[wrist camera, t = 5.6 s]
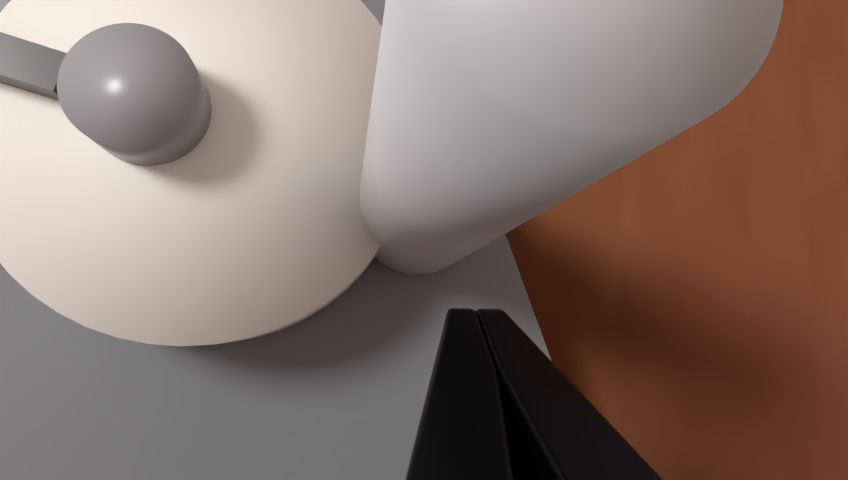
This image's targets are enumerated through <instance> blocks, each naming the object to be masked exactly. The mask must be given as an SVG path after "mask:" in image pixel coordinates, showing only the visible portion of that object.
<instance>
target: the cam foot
mask: <svg viewBox="0 0 848 480" xmlns="http://www.w3.org/2000/svg"><path fill="white" fill-rule="evenodd" d="M782 7H783V0H386V1H385V8H384V16H383V23H382V27H381V25H380V24H379V22H378V20H377V19H376V18H375V16H374V15H373V14H372V13H371V12H370V10H369V9H368V8H367V7H366V6H365V5H364V3H363V2H362V1H361V0H11V1H10V2H9V3H8V4H7V5H6V6H5V7H4V9H3V10H2V11H1V13H0V263H1V265H2V266H3V267H4V268H5V270H6V271H7V272H8V273H9V274H10V275H11V276H12V277H13V278H14V279H15V280H16V281H17V282H18V283H19V284H21V285H22V286H23V287H24V288H25V289H26V290H27V291H28V292H29V293H30V294H31V295H33V296H34V297H36V298H37V299H38V300H40V301H41V302H43V303H44V304H46V305H47V306H49V307H50V308H52V309H53V310H55V311H56V312H57V313H59V314H61V315H63V316H65V317H67V318H69V319H71V320H73V321H75V322H77V323H79V324H81V325H83V326H85V327H87V328H90V329H93V330H96V331H99V332H102V333H105V334H108V335H111V336H113V337H116V338H121V339H126V340H131V341H136V342H141V343H146V344H154V345H168V346H198V345H214V344H222V343H230V342H236V341H241V340H247V339H252V338H258V337H261V336H264V335H267V334H271V333H274V332H277V331H280V330H283V329H285V328H288V327H290V326H292V325H294V324H296V323H298V322H301V321H303V320H305V319H307V318H309V317H310V316H312V315H313V314H315V313H317V312H318V311H320V310H321V309H323V308H325V307H326V306H328V305H329V304H330V303H332V302H333V301H334V300H335V299H336V298H338V297H339V296H340V295H341V294H343V293H344V292H345V291H346V290H347V289H348V288H349V287H350V286H351V285H352V284H353V283H354V282H355V281H356V280H357V279H358V278H359V277H360V276H361V275H362V274H363V272H364V271H365V270H366V269H367V267H368V266H369V264H370V263H371V262H372V260H373V259H374V257H375V258H376V259H377V260H378V261H380V262H381V263H383V264H384V265H385V266H387V267H389V268H391V269H393V270H395V271H398V272H401V273H406V274H413V275H424V274H430V273H434V272H437V271H440V270H442V269H444V268H446V267H448V266H450V265H451V264H453V263H455V262H457V261H458V260H460V259H462V258H464V257H465V256H467V255H469V254H471V253H472V252H474V251H476V250H477V249H479V248H481V247H483V246H484V245H486V244H488V243H490V242H491V241H493V240H495V239H497V238H498V237H500V236H502V235H504V234H505V233H507V232H509V231H511V230H512V229H514V228H516V227H517V226H519V225H521V224H523V223H524V222H526V221H528V220H530V219H531V218H533V217H535V216H537V215H538V214H540V213H542V212H544V211H545V210H547V209H549V208H551V207H552V206H554V205H556V204H558V203H559V202H561V201H563V200H564V199H566V198H568V197H570V196H571V195H573V194H575V193H577V192H578V191H580V190H582V189H584V188H585V187H587V186H589V185H591V184H592V183H594V182H596V181H598V180H599V179H601V178H603V177H604V176H606V175H608V174H610V173H611V172H613V171H615V170H617V169H618V168H620V167H622V166H624V165H625V164H627V163H629V162H631V161H632V160H634V159H636V158H638V157H639V156H641V155H643V154H645V153H646V152H648V151H650V150H651V149H653V148H655V147H657V146H658V145H660V144H662V143H664V142H665V141H667V140H669V139H671V138H672V137H674V136H676V135H678V134H679V133H681V132H683V131H685V130H686V129H688V128H690V127H692V126H693V125H695V124H697V123H698V122H700V121H702V120H704V119H705V118H707V117H709V116H710V115H712V114H713V113H715V112H716V111H718V110H719V109H721V108H722V107H724V106H725V105H727V104H728V103H729V102H730V101H731V100H732V99H733V98H734V97H736V96H737V95H738V94H739V93H740V92H741V91H742V90H743V89H744V88H745V87H746V86H747V84H748V83H749V82H750V81H751V79H752V78H753V77H754V76H755V74H756V73H757V72H758V70H759V69H760V67H761V65H762V63H763V62H764V60H765V58H766V57H767V55H768V53H769V51H770V48H771V46H772V43H773V41H774V38H775V36H776V33H777V30H778V26H779V21H780V17H781V13H782Z"/></svg>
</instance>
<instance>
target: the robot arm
mask: <svg viewBox="0 0 848 480" xmlns="http://www.w3.org/2000/svg"><path fill="white" fill-rule="evenodd" d="M405 480H663V479H662V478H661V477H660V476H659V475H658V474H657V473H656V472H655V471H654V470H653V469H652V468H651V467H650V466H649V464H648V463H647V462H646V461H645V460H644V459H643V458H642V457H641V456H640V455H639V454H638V453H637V452H636V451H635V450H634V449H633V447H632V446H631V445H630V444H629V443H628V442H627V441H626V440H625V439H624V438H623V437H622V436H621V435H620V434H619V433H618V431H617V430H616V429H615V428H614V427H613V426H612V425H611V424H610V423H609V422H608V421H607V420H606V419H605V418H604V417H603V415H602V414H601V413H600V412H599V411H598V410H597V409H596V408H595V407H594V406H593V405H592V404H591V403H590V402H589V401H588V399H587V398H586V397H585V396H584V395H583V394H582V393H581V392H580V391H579V390H578V389H577V388H576V387H575V386H574V385H573V384H572V382H571V381H570V380H569V379H568V378H567V377H566V376H565V375H564V374H563V373H562V372H561V371H560V370H559V369H558V368H557V366H556V365H555V364H554V363H553V362H552V361H551V360H550V359H549V358H548V357H547V356H546V355H545V354H544V353H543V352H542V350H541V349H540V348H539V347H538V346H537V345H536V344H535V343H534V342H533V341H532V340H531V339H530V338H529V337H528V336H527V334H526V333H525V332H524V331H523V330H522V329H521V328H520V327H519V326H518V325H517V324H516V323H515V322H514V321H513V320H512V319H511V317H510V316H509V315H508V314H507V313H506V312H505V311H503V310H501V309H478V310H476V311H474V310H473V309H471V308H450V309H449V310H448V311H447V314H446V318H445V322H444V326H443V330H442V334H441V338H440V342H439V346H438V350H437V354H436V358H435V362H434V366H433V370H432V374H431V378H430V382H429V386H428V390H427V394H426V398H425V402H424V406H423V410H422V414H421V418H420V422H419V426H418V430H417V434H416V438H415V442H414V446H413V450H412V454H411V458H410V462H409V466H408V470H407V474H406V478H405Z"/></svg>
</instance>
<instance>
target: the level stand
mask: <svg viewBox="0 0 848 480" xmlns="http://www.w3.org/2000/svg"><path fill="white" fill-rule="evenodd" d="M10 1H11V0H0V13H1V11H2V10H3V9H4V7H5V6H6V5H7V4H8V3H9V2H10ZM361 1H362V2H363V3H364V5H365V6H366V7H367V8H368V9H369V10H370V12H371V13H372V14H373V15H374V16H375V18H376V19H377V20H378V22H379V24H380V25H381V27H382V23H383V16H384V8H385V1H386V0H361ZM450 308H471V309H473V310H474V311H476V310H478V309H501V310H503V311H505V312H506V313H507V314H508V315H509V316H510V317H511V319H512V320H513V321H514V322H515V323H516V324H517V325H518V326H519V327H520V328H521V329H522V330H523V331H524V332H525V333H526V334H527V336H528V337H529V338H530V339H531V340H532V341H533V342H534V343H535V344H536V345H537V346H538V347H539V348H540V349H541V350H542V352H543V353H544V354H545V355H546V356H547V357H548V358H549V359H550V360H551V358H550V355H549V352H548V349H547V347H546V344H545V341H544V338H543V336H542V333H541V330H540V327H539V325H538V322H537V319H536V316H535V314H534V311H533V308H532V305H531V303H530V300H529V297H528V294H527V292H526V289H525V286H524V283H523V281H522V278H521V275H520V272H519V270H518V267H517V264H516V261H515V259H514V256H513V253H512V250H511V248H510V245H509V242H508V239H507V237H506V234H504V235H502V236H500V237H498V238H497V239H495V240H493V241H491V242H490V243H488V244H486V245H484V246H483V247H481V248H479V249H477V250H476V251H474V252H472V253H471V254H469V255H467V256H465V257H464V258H462V259H460V260H458V261H457V262H455V263H453V264H451V265H450V266H448V267H446V268H444V269H442V270H440V271H437V272H434V273H430V274H424V275H413V274H406V273H401V272H398V271H395V270H393V269H391V268H389V267H387V266H385V265H384V264H383V263H381V262H380V261H378V260H377V259H376V258H375V257H374V259H373V260H372V262H371V263H370V264H369V266H368V267H367V269H366V270H365V271H364V272H363V274H362V275H361V276H360V277H359V278H358V279H357V280H356V281H355V282H354V283H353V284H352V285H351V286H350V287H349V288H348V289H347V290H346V291H345V292H344V293H343V294H341V295H340V296H339V297H338V298H336V299H335V300H334V301H333V302H332V303H330V304H329V305H328V306H326V307H325V308H323V309H321V310H320V311H318V312H317V313H315V314H313V315H312V316H310V317H309V318H307V319H305V320H303V321H301V322H298V323H296V324H294V325H292V326H290V327H288V328H285V329H283V330H280V331H277V332H274V333H271V334H267V335H264V336H261V337H258V338H252V339H247V340H241V341H236V342H230V343H222V344H214V345H198V346H168V345H154V344H146V343H141V342H136V341H131V340H126V339H121V338H116V337H113V336H111V335H108V334H105V333H102V332H99V331H96V330H93V329H90V328H87V327H85V326H83V325H81V324H79V323H77V322H75V321H73V320H71V319H69V318H67V317H65V316H63V315H61V314H59V313H57V312H56V311H55V310H53V309H52V308H50V307H49V306H47V305H46V304H44V303H43V302H41V301H40V300H38V299H37V298H36V297H34V296H33V295H31V294H30V293H29V292H28V291H27V290H26V289H25V288H24V287H23V286H22V285H21V284H19V283H18V282H17V281H16V280H15V279H14V278H13V277H12V276H11V275H10V274H9V273H8V272H7V271H6V270H5V268H4V267H3V266H2V265H1V263H0V480H405V478H406V474H407V470H408V466H409V462H410V458H411V454H412V450H413V446H414V442H415V438H416V434H417V430H418V426H419V422H420V418H421V414H422V410H423V406H424V402H425V398H426V394H427V390H428V386H429V382H430V378H431V374H432V370H433V366H434V362H435V358H436V354H437V350H438V346H439V342H440V338H441V334H442V330H443V326H444V322H445V318H446V314H447V311H448V310H449V309H450ZM551 361H552V360H551Z"/></svg>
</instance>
